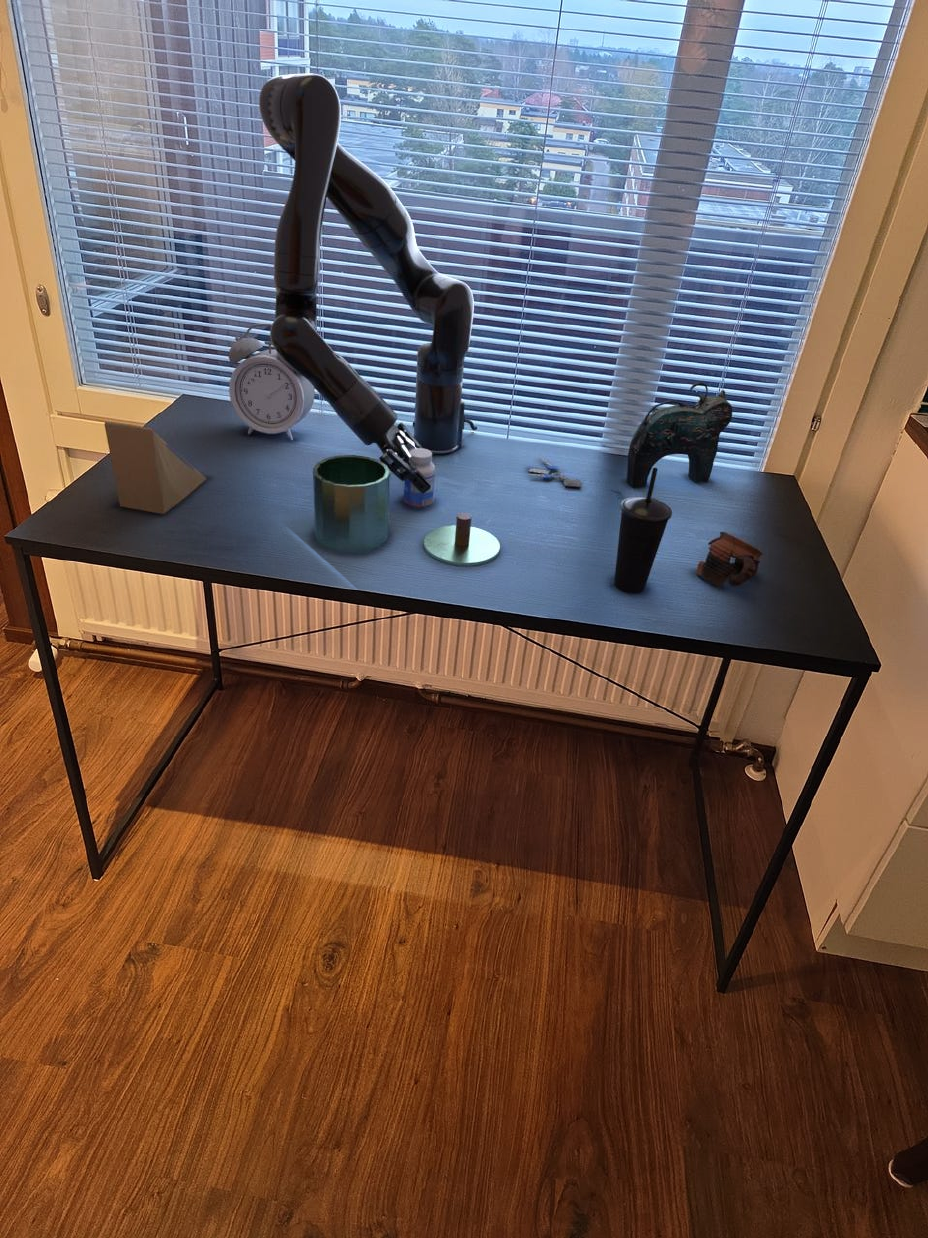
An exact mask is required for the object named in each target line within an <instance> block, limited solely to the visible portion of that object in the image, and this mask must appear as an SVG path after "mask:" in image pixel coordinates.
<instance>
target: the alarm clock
mask: <svg viewBox="0 0 928 1238" xmlns="http://www.w3.org/2000/svg"><path fill="white" fill-rule="evenodd" d="M272 324H273V323H256V324H252V325H251V326H250V327H249V328H247V330H246V332H245V333H244V335H242V336H240V337H239V336H235V338H234V340H235V342H234V344H232V346H231V347H230V348H229V351H228V359H229V362H230V363H231V365H232V366H233V365H236V364H237V363H238V364H237V366H236V367H235V368H234V370H233V371H232V373H231V377H230V379H229V386H228V393H229V400H230V402H231V406H232V407H233V409H234V412H235V413H236V414H237V416H238V417H239V419H240V420H241V421H242V422H243V423H245V424H246V426H248V427H249V428H248V432H247V434H248V435H251V434H252V433H253V431H257V432H260V433H264V434H268V435H277V434H281V433H286V436H288V438H289V440H290V441H293V440H294V438H293V435H292V431H291V428H293V427H294V426H295V425H297V424H298V423H299V422H301V421H302V420H303V419H305V418H306V416H307V415H308V414H309V413H310V412H311V410H312V407H313V405H314V402H315V395H316V391H315V390H316V389H315V388H314V386H313V385H312V384H311V383H310V382H309V381H308V380H307V379H306V378H305V377H303V376H302V375H301V374H300V373H299V372H298V371H296V370H295V369H294V368H293V367H292V366H291V365H290V364H289V363H287V362H286V361H285V360H284V359H283V358H282V357H281V355H280V354H279V353H278V352H277V351H276V349H275V348H273V349H272V346H273V344H272V342H271V341H270V340H265V341H264V344H265V345H267V346H268V348H267V349H264V350H262V351H260V350H261V349H263V348H264V346H263V344H262V343H261V342H260V341H259V340H258V339H256V338H255V337H247V336H248V335H249V333H250V331H251V330H252V329H253V328H257V327H270V328H271V326H272ZM258 351H259V352H258ZM256 352H257V353H256ZM239 362H240V363H239Z"/></svg>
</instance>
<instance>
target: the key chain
mask: <svg viewBox="0 0 928 1238" xmlns="http://www.w3.org/2000/svg"><path fill="white" fill-rule="evenodd" d="M540 459H541V460H542V461H543V462H544V463H545V464H546V468H547V470H545V469H539V468H533V467H532V468H530V469H529V472H530V473H528V476H529V477H540V478H543V479H544V478H545V479H556V480H557V479H558V480H561V481H563V486H565V487H572V488H573V487H574V488H581V487H582V484H581V480H580V479H577V478H569V477H566V476H564V475H563V474H562V470H561V469H560V468H559V467H558V466H555V465H552V464H551V463H550V462H549V461H547V459H545V458H544V457H540ZM552 470H553V471H557V470H559V471H560V472H553V473H550V471H552Z"/></svg>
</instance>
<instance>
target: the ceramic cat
mask: <svg viewBox="0 0 928 1238" xmlns="http://www.w3.org/2000/svg"><path fill="white" fill-rule="evenodd" d="M697 386H704V387H705V394H701V393H699V392H698V393H697V396H698V398H699V399H698V400H697V402H696V404H695V405H692V404H691V405H689V404H686V403H683V402H680V401H677V400H668V401H664V402H659V403H657V404H655V405H653V406H652V407H651V408H650V409H649V411H648V412H647V413H646V415H645V417H644V419H643V420H642V421H641V422H640V424H639V425H638V427H637V429H636V431H635V432H633V433H634V434H633V436H632V437H631V440H630V443H629V448H628V452H627V469H626V472H627V473H626V483H627V484H628V485H630V486H631V487H632V488H642V487H643V488H644V487H646V486H647V483H648V478H649V476H650V474H651V472H652V470H653V468H654V466H655V465H656V464H657V463H658V462H659V461H660V460H661V459H664V458H665V457H667V456H672V455H686V456H687V458H688V478H689V479H690V480H692V481H693V482H694V483H700V482H709V481H710V477H711V475H712V471H713V468H714V467H713V466H714V464H715V463H714V462H715V459H716V456H717V453H718V447H719V441H720V435H721V433H722V432H723V431H724V430H725V429H726V428H727V427H728V426H729V425H730V423H731V421H732V418H733V408H734V407H733V406H732V404H731V403H730V402H729V401H728V399H727V397H726V396H727V395H726V391H725V390H724V389H722V390H721V391H720V393H719V394H718V395H717V394H716V395H708V392H709V388H708V386H707V384H705V383H704V382H701V381H699V382H695V383H693V384H692V385H691V386H690V388H689V390H690V391H692V390H693V389H695V388H696V387H697ZM668 404H675V405H671V406H667V407H666V406H665V407H661V406H664V405H668ZM658 407H661V408H658ZM657 408H658V409H657ZM655 409H656V410H655Z"/></svg>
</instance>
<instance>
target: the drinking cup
mask: <svg viewBox="0 0 928 1238" xmlns="http://www.w3.org/2000/svg"><path fill="white" fill-rule="evenodd" d="M657 474H658V467H652V469H651V476H650V479H649V484H648V490H647V493H646V496H632V497H628V498H627V497H626V498H625V499H623V500H622V501H621V503H620V507H619V509H620V511H621V513H620V523H619V532H618V541H617V542H618V543H617V552H616V561H615V570H614V578H613V579H614V580H613V581H614V583H613V584H614V587H615V588H616V589H618V590H619V591H621V592H623V593H626V594H639V593H642V592H643V591H644V590H645V588H646V586H647V583H648V580H649V577H650V574H651V571H652V568H653V565H654V562H655V559H656V557H657V553H658V551H659V548H660V545H661V542H662V539H663V536H664V533H665V531H666V527H667V525H668V522H669V520H670V519H671V518H672V515H673V510H672V508H671V506H669V505H668V504H666V503H665V502H664V501H661V500H659V499H656V498H654V497H652V496H653V491H654V486H655V482H656V479H657V478H656V477H657Z"/></svg>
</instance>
